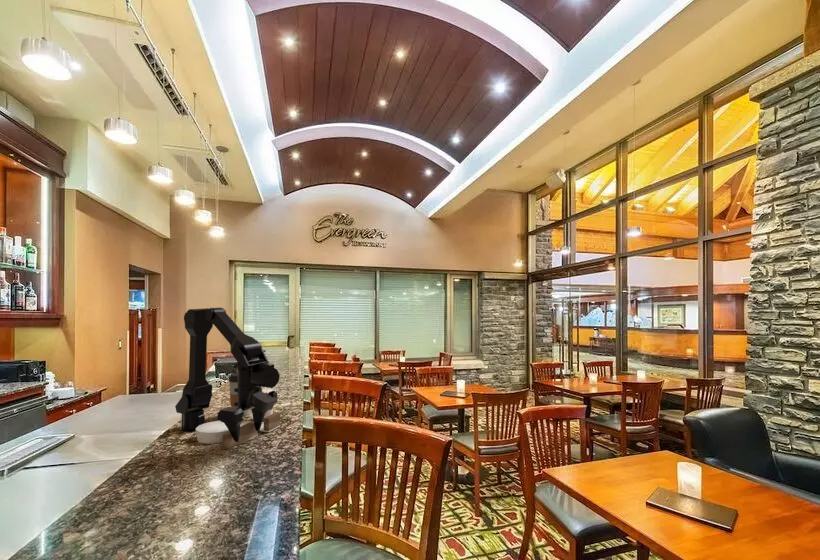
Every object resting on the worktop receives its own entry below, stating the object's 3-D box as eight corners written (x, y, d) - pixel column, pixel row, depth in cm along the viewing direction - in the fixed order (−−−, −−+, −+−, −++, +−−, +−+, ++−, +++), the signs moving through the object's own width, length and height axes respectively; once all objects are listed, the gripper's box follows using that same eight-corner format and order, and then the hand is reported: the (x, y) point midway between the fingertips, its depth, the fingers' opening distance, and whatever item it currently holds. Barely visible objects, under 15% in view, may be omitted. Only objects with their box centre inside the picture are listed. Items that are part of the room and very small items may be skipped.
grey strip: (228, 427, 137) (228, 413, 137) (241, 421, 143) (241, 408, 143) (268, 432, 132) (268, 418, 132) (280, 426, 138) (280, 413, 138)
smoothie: (278, 415, 149) (279, 377, 150) (271, 421, 143) (271, 381, 143) (262, 415, 150) (262, 377, 150) (253, 421, 144) (253, 381, 144)
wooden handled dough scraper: (183, 444, 122) (183, 429, 122) (216, 430, 134) (217, 416, 134) (227, 451, 117) (227, 435, 117) (257, 435, 129) (257, 421, 129)
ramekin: (240, 444, 125) (240, 427, 125) (199, 453, 118) (200, 435, 118) (229, 434, 134) (230, 418, 134) (191, 442, 127) (192, 425, 127)
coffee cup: (247, 409, 157) (247, 370, 157) (256, 414, 151) (256, 373, 151) (224, 414, 151) (225, 373, 151) (233, 419, 145) (234, 377, 146)
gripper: (249, 393, 111) (248, 451, 111) (289, 379, 129) (289, 428, 129) (216, 390, 115) (215, 446, 115) (259, 376, 133) (259, 424, 132)
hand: (247, 436), depth 123 cm, fingers open, 9 cm apart
